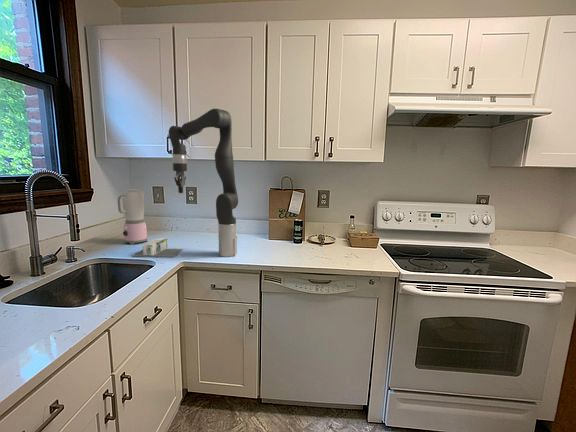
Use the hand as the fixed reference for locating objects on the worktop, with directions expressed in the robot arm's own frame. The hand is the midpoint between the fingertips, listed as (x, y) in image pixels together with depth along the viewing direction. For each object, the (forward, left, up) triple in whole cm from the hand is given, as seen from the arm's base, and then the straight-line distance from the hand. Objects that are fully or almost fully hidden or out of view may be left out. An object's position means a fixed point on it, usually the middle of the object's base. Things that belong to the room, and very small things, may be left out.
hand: (180, 192), depth 167 cm
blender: (+30, -2, -31) cm, 43 cm away
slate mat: (+7, +18, -31) cm, 37 cm away
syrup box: (+8, +10, -28) cm, 30 cm away
